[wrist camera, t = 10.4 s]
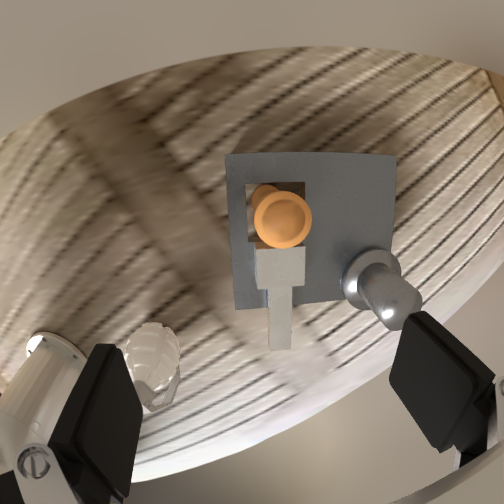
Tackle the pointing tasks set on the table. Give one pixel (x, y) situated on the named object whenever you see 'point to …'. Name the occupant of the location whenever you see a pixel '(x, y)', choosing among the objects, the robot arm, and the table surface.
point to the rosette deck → (320, 239)
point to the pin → (280, 217)
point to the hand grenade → (153, 363)
